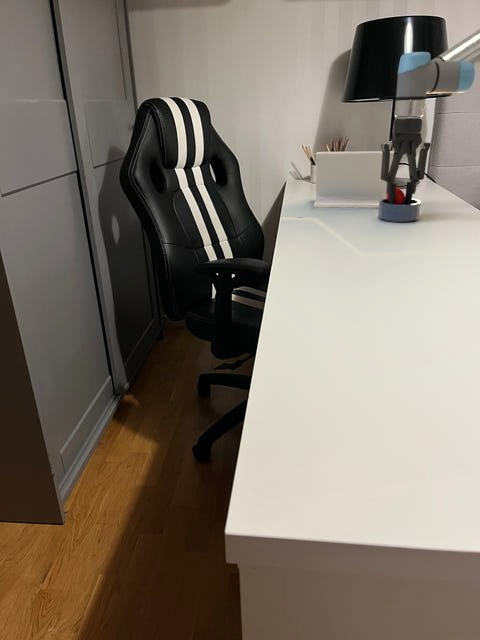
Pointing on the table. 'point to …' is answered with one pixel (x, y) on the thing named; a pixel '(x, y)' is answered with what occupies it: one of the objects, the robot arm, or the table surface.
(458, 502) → the table surface
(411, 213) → the bowl
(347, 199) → the tablet stand
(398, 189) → the strawberry
